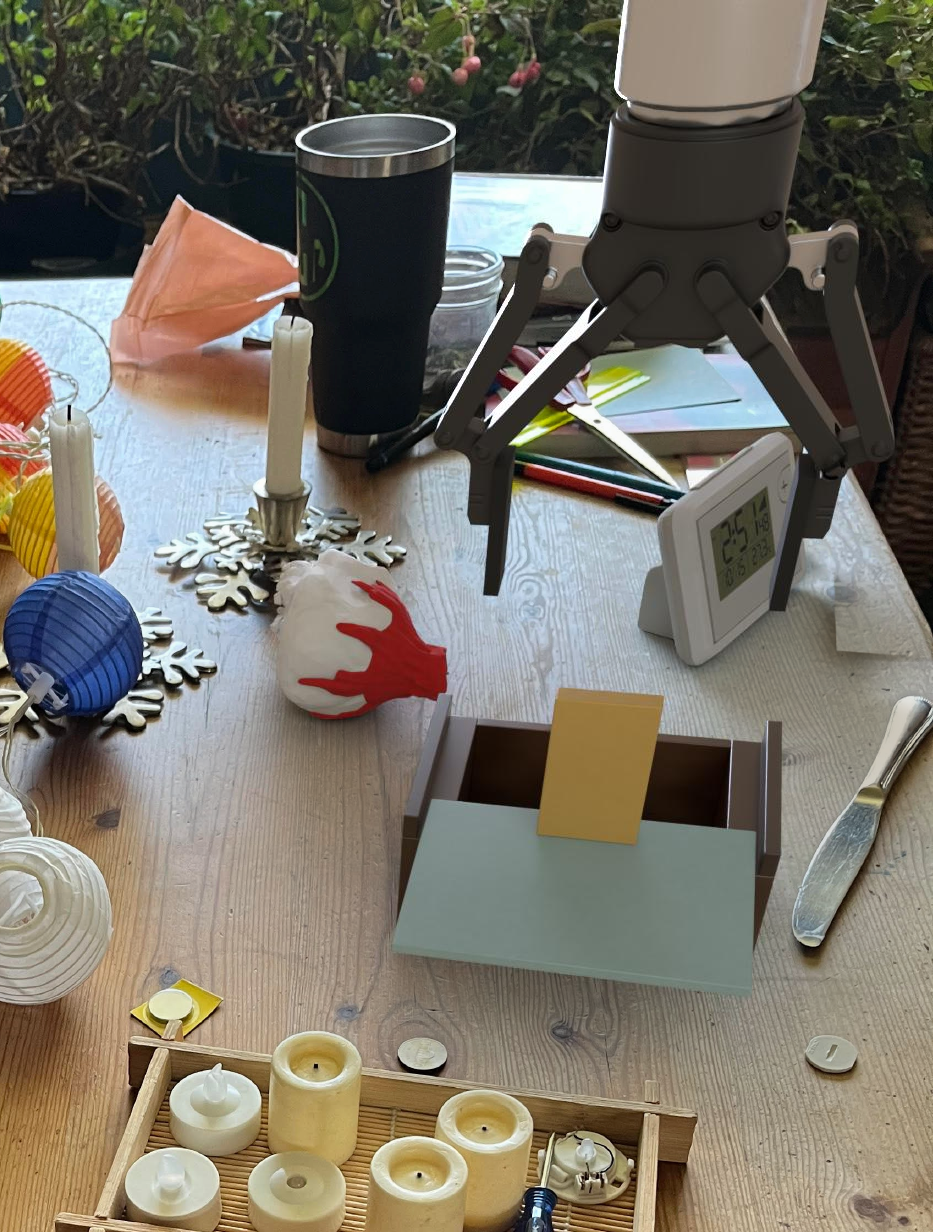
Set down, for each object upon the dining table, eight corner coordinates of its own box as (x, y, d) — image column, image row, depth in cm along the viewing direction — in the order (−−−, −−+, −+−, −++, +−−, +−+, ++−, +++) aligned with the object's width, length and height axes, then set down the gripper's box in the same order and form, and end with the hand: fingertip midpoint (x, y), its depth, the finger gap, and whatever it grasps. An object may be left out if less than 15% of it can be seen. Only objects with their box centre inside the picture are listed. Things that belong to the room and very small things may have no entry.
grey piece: (754, 840, 80) (793, 691, 74) (749, 998, 72) (793, 845, 66) (430, 807, 84) (441, 664, 78) (390, 952, 76) (400, 805, 70)
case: (747, 857, 92) (782, 720, 86) (742, 993, 84) (781, 854, 77) (428, 823, 97) (439, 692, 91) (394, 949, 89) (403, 815, 82)
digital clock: (691, 680, 106) (722, 530, 99) (589, 634, 112) (611, 488, 104) (840, 599, 112) (880, 452, 105) (736, 559, 118) (767, 416, 110)
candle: (281, 633, 114) (472, 697, 109) (210, 707, 107) (410, 778, 103) (297, 517, 107) (501, 580, 103) (222, 588, 101) (436, 658, 96)
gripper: (1043, 62, 62) (900, 567, 77) (414, 84, 69) (395, 544, 84) (1064, 114, 57) (907, 643, 72) (384, 132, 64) (370, 612, 79)
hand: (631, 591), depth 78 cm, fingers open, 13 cm apart
